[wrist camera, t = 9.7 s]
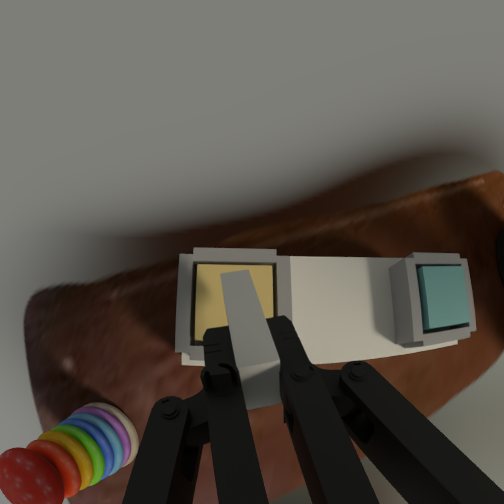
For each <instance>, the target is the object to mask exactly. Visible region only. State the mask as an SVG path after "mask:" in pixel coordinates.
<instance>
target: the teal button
mask: <svg viewBox="0 0 504 504" xmlns="http://www.w3.org/2000/svg"><path fill="white" fill-rule="evenodd" d="M416 273H417V280H418V288H419V296H420V305H421V315H422V328H423V331H425V330H432V329H438V328H445V327H450V326H454V325H459V324H463V323H467V322H470V316H469V307H468V299H467V291H466V284H465V278H464V272H463V266H422V267H420V268H419V269H417V270H416Z"/></svg>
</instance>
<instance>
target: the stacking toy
mask: <svg viewBox="0 0 504 504" xmlns="http://www.w3.org/2000/svg"><path fill="white" fill-rule="evenodd" d="M138 445H139V442H138V436H137V432H136V430H135V428H134V426H133V424H132V423H131V421H130V420H129V419H128V417H127V416H126V415H125V414H124V413H123V412H121V411H120V410H119V409H117V408H116V407H114V406H111V405H109V404H106V403H99V402H95V403H89V404H86V405H84V406H83V407H81V408H79V409H77V410H75V411H74V412H73V413H72V414H71V415H70V417H68V418H67V419H66V420H64V421H62V422H60V423H59V424H58V425H57V426H55V427H53V428H52V429H51V430H50V431H46V432H44V433H42V434H41V435H40V436H39V438H38V439H37V440H34V441H32V442H31V443H30V444H29V445H28V446H27V447H26V448H12V449H9V450H7V451H5V452H4V453H2V454H1V456H0V489H1V490H2V492H3V494H4V495H5V497H6V498H7V499H8V500H9V501H10V502H11V503H12V504H62V502H63V500H64V498H69V497H72V496H74V495H76V494H77V493H78V491H79V490H82V489H84V488H86V487H87V486H91V485H94V484H96V483H98V482H99V481H100V480H102V479H104V478H106V477H107V476H109V475H112V474H114V473H115V472H116V471H117V470H118V469H119V468H121V467H124V466H126V465H128V464H129V463H131V462H132V461H133V459H134V458H135V456H136V454H137V452H138Z"/></svg>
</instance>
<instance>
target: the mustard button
mask: <svg viewBox="0 0 504 504" xmlns="http://www.w3.org/2000/svg"><path fill="white" fill-rule="evenodd" d="M247 269H249V272H250V275H251V278H252V281H253V284H254V287H255V290H256V292H257V295H258V298H259V301H260V304H261V307H262V310H263V313H264V316H265V318H271V317H273V276H272V266H267V265H211V264H197V283H196V310H195V340H197V341H199V342H203V335H204V333H205V331H206V329H208V328H215V327H222V326H228V321H227V315H226V309H225V303H224V296H223V290H222V283H221V277H220V274H221V273H227V272H234V271H240V270H247Z"/></svg>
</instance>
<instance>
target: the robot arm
mask: <svg viewBox="0 0 504 504" xmlns="http://www.w3.org/2000/svg"><path fill="white" fill-rule="evenodd" d="M497 261H498V267H499V271H500V275H501V278H502V281H503V284H504V228H503V229H502V230H501V231H500V233H499V235H498V239H497ZM220 277H221V283H222V290H223V296H224V303H225V309H226V315H227V321H228V326H222V327H215V328H208V329H206V331H205V333H204V335H203V349H204V362H205V367H204V369H203V370H202V371H201V376H200V377H201V380H202V384H203V389H202V390H201V391H200V392H199V393H198V394H196V395H194V396H192V397H190V398H187V399H185V400H182V399H181V398H178V397H175V396H170V397H165V398H162V399H160V400H159V401H157V402H156V403H155V405H154V406H153V408H152V411H151V414H150V417H149V420H148V423H147V426H146V429H145V432H144V435H143V438H142V441H141V444H140V447H139V450H138V453H137V456H136V459H135V463H134V466H133V469H132V472H131V476H130V479H129V482H128V486H127V489H126V492H125V496H124V499H123V503H122V504H192V503H193V498H194V492H195V487H196V481H197V476H198V470H199V465H200V459H201V454H202V449H203V445H204V444H206V443H209V442H210V443H211V451H212V459H213V467H214V474H215V481H216V488H217V494H218V500H219V504H269V502H268V498H267V495H266V491H265V487H264V483H263V478H262V474H261V470H260V466H259V462H258V458H257V453H256V449H255V445H254V440H253V436H252V432H251V427H250V423H249V418H248V413H247V410H248V409H254V408H259V407H265V406H270V405H275V404H279V403H281V400H282V403H283V406H284V423H287V426H288V429H289V432H290V435H291V439H292V442H293V445H294V448H295V451H296V454H297V458H298V461H299V464H300V467H301V470H302V473H303V476H304V479H305V482H306V485H307V488H308V491H309V495H310V497H311V501H312V503H313V504H379V502H378V499H377V497H376V495H375V492H374V490H373V488H372V486H371V484H370V481H369V479H368V477H367V475H366V472H365V470H364V468H363V466H362V463H361V461H360V459H359V457H358V455H357V452H356V450H355V448H354V446H353V443H352V441H351V439H350V437H351V438H352V439H353V441H354V442H355V443H356V444H357V445H358V447H359V448H360V449H361V450H362V451H363V452H364V454H365V455H366V456H367V457H368V458H369V459H370V461H371V462H372V463H373V464H374V465H375V466H376V468H377V469H378V470H379V471H380V472H381V473H382V474H383V476H384V477H385V478H386V479H387V480H388V481H389V482H390V484H391V485H392V486H393V487H394V488H395V489H396V490H397V491H398V493H400V495H401V496H402V497H403V498H404V499H405V500H406V501H407V502H408V504H504V491H502V490H501V489H500V488H499V487H498V486H497V485H496V484H495V483H494V482H493V481H492V480H491V479H490V478H489V477H488V476H487V475H486V474H484V472H482V471H481V470H480V469H479V468H478V467H477V466H476V465H475V464H474V463H473V462H472V461H471V460H470V459H469V458H468V457H467V456H466V455H464V453H462V452H461V451H460V450H459V449H458V448H457V447H456V446H455V445H454V444H453V443H452V442H451V441H450V440H449V439H448V438H447V437H445V435H444V434H443V433H442V432H440V431H439V430H438V429H437V428H436V427H435V426H434V425H433V424H432V423H431V422H430V421H429V420H428V419H427V418H426V417H425V416H424V415H423V414H422V413H420V412H419V411H418V410H417V409H416V408H415V407H414V406H413V405H412V404H411V403H410V402H409V401H408V400H407V399H406V398H405V397H404V396H403V395H402V394H401V393H399V392H398V391H397V390H396V389H395V388H394V387H393V386H392V385H391V384H390V383H389V382H388V381H387V380H386V379H385V378H384V377H383V376H382V375H381V374H380V373H378V372H377V371H376V370H375V369H374V368H373V367H372V366H371V365H370V364H368V363H366V362H363V361H351V362H348V363H347V364H345V365H344V366H343V368H342V370H325V369H321V368H318V367H316V366H315V365H314V364H312V363H311V362H310V360H309V358H308V356H307V354H306V352H305V350H304V347H303V345H302V343H301V341H300V339H299V337H298V334H297V332H296V331H295V328H294V325H293V323H292V321H291V320H290V319H288V318H287V317H286V316H285V315H282V316H277V317H271V318H265V316H264V313H263V310H262V307H261V304H260V301H259V298H258V295H257V292H256V290H255V287H254V284H253V281H252V278H251V275H250V272H249V269H247V270H240V271H234V272H227V273H221V274H220ZM349 436H350V437H349Z"/></svg>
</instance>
